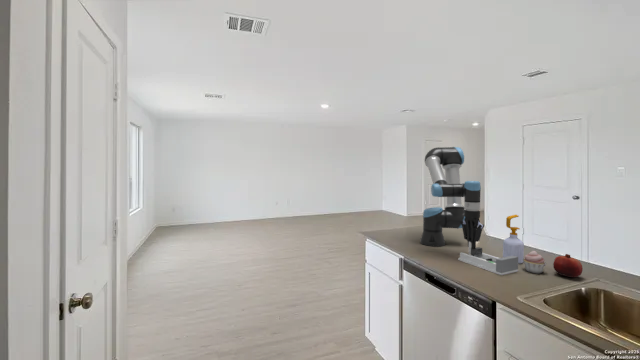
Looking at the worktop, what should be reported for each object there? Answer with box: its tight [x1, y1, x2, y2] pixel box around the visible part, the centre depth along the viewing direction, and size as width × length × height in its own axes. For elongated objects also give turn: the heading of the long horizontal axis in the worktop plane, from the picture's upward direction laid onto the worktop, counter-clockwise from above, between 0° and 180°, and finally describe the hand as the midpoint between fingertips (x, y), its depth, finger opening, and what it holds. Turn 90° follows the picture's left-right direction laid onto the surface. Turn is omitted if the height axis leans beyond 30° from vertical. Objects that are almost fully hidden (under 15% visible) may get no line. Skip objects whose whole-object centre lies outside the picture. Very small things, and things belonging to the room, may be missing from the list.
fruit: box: [552, 253, 584, 278], centre depth 132 cm, size 11×10×10 cm
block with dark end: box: [470, 246, 499, 263], centre depth 147 cm, size 13×9×6 cm
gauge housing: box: [457, 252, 519, 276], centre depth 147 cm, size 24×12×7 cm, turn 23°
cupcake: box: [523, 250, 547, 274], centre depth 138 cm, size 9×9×10 cm
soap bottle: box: [502, 214, 525, 264], centre depth 153 cm, size 9×9×25 cm
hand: (471, 253), depth 155 cm, fingers closed
